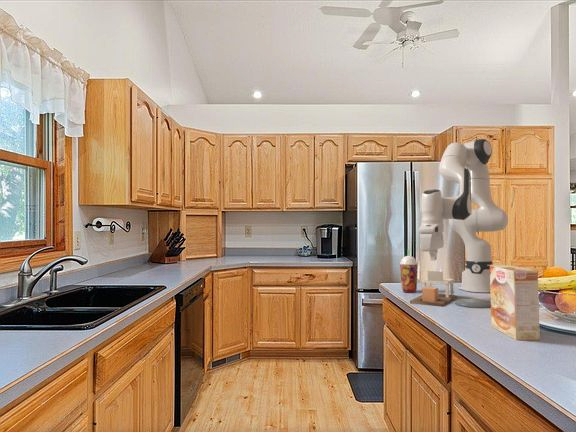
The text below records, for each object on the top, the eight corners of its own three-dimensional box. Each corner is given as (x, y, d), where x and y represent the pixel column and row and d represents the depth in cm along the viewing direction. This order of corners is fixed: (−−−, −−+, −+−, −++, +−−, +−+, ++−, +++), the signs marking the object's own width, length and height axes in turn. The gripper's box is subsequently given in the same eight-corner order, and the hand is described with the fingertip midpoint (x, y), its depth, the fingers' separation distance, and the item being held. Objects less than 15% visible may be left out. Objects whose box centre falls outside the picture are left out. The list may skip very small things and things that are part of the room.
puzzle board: (426, 295, 187) (426, 292, 187) (456, 297, 179) (456, 295, 179) (409, 303, 169) (409, 300, 169) (442, 306, 161) (442, 303, 161)
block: (426, 300, 174) (425, 286, 174) (438, 302, 171) (437, 287, 171) (422, 302, 169) (422, 288, 170) (434, 304, 167) (434, 289, 167)
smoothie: (403, 290, 201) (402, 249, 202) (420, 291, 197) (419, 249, 197) (397, 292, 195) (396, 250, 195) (415, 294, 190) (414, 250, 190)
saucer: (459, 300, 174) (459, 297, 174) (496, 303, 165) (496, 300, 165) (451, 305, 162) (450, 303, 162) (489, 309, 154) (489, 306, 154)
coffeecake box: (490, 326, 130) (488, 265, 130) (513, 326, 129) (511, 264, 130) (515, 340, 115) (513, 270, 115) (541, 340, 114) (539, 270, 115)
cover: (428, 292, 186) (428, 268, 186) (454, 294, 180) (453, 269, 180) (422, 295, 179) (421, 270, 179) (448, 297, 172) (447, 272, 173)
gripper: (432, 226, 185) (433, 257, 185) (417, 229, 168) (418, 262, 168) (446, 226, 181) (447, 257, 181) (433, 229, 164) (434, 263, 165)
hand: (433, 260), depth 175 cm, fingers closed
